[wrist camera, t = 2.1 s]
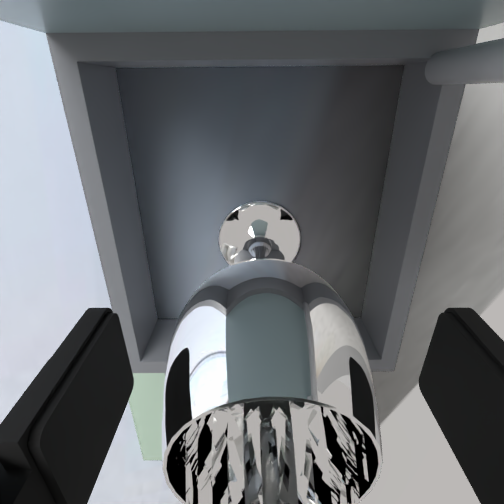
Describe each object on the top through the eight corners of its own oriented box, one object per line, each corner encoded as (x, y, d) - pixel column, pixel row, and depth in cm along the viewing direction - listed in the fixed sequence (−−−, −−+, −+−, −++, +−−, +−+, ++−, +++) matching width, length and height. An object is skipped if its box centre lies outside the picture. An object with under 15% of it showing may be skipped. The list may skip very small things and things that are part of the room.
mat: (284, 454, 26) (284, 459, 26) (145, 455, 26) (143, 460, 26) (290, 347, 21) (291, 351, 21) (118, 348, 21) (116, 352, 21)
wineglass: (190, 262, 18) (102, 507, 8) (233, 168, 16) (195, 329, 5) (281, 299, 19) (318, 560, 9) (333, 217, 17) (471, 431, 6)
